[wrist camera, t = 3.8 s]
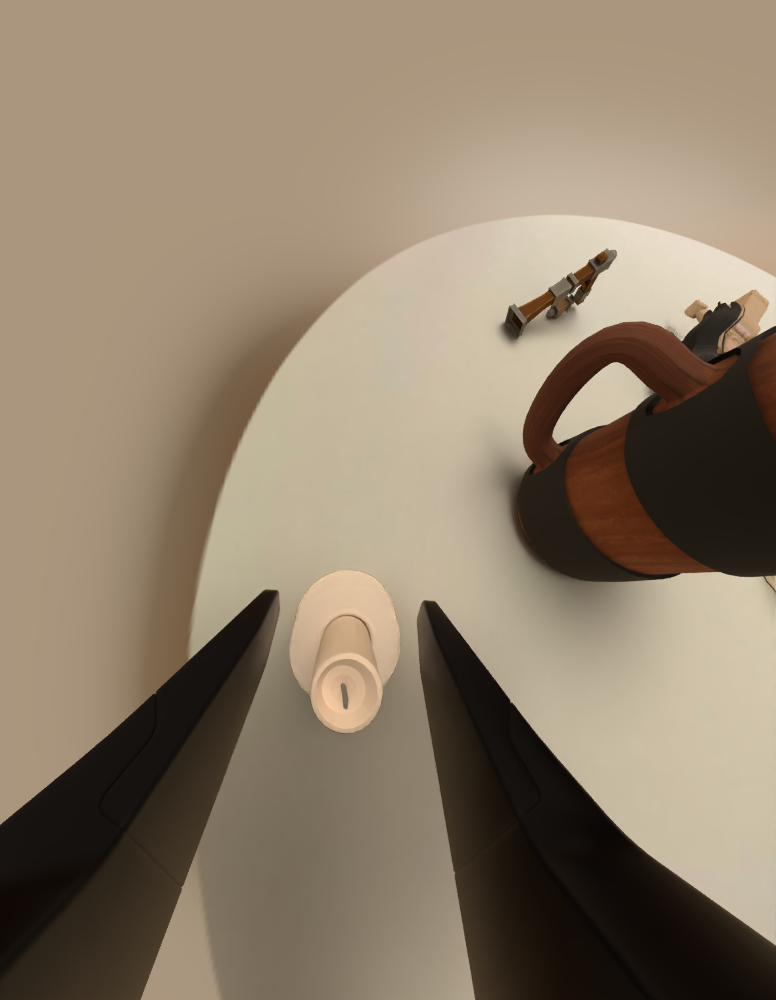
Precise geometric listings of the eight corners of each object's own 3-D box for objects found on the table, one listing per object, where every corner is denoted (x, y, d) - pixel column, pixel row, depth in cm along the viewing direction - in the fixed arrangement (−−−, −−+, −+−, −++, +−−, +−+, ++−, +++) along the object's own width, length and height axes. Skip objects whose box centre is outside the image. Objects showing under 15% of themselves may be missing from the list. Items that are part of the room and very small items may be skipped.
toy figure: (671, 295, 27) (643, 395, 22) (771, 219, 21) (766, 332, 16) (722, 340, 28) (708, 448, 23) (833, 279, 22) (847, 405, 17)
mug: (514, 403, 20) (716, 195, 9) (646, 512, 20) (1045, 426, 8) (445, 481, 18) (607, 323, 7) (592, 611, 17) (1060, 676, 6)
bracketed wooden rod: (597, 301, 23) (630, 250, 19) (510, 356, 25) (523, 321, 20) (584, 285, 24) (614, 232, 19) (499, 341, 25) (509, 303, 21)
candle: (320, 696, 14) (252, 1004, 4) (280, 598, 15) (144, 640, 5) (410, 641, 15) (535, 766, 5) (369, 554, 16) (406, 515, 6)
